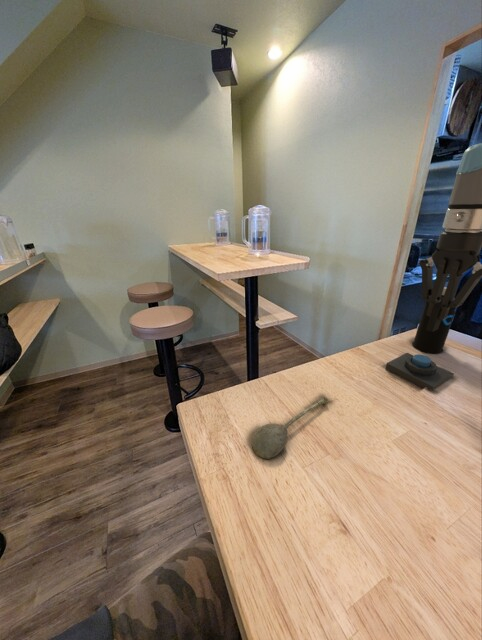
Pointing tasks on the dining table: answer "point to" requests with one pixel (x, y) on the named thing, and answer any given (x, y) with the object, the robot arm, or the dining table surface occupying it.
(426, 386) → the button housing
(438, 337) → the aerosol can
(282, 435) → the soupspoon
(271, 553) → the dining table surface
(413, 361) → the push top
